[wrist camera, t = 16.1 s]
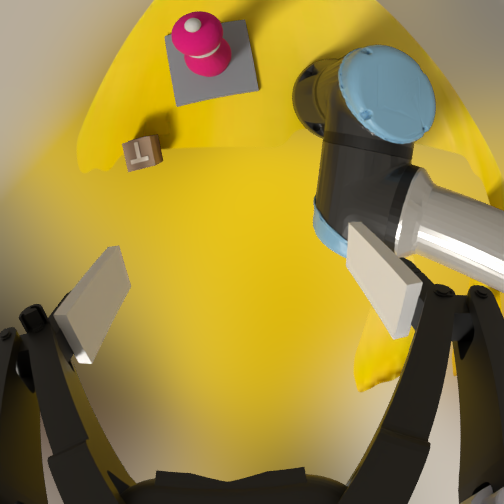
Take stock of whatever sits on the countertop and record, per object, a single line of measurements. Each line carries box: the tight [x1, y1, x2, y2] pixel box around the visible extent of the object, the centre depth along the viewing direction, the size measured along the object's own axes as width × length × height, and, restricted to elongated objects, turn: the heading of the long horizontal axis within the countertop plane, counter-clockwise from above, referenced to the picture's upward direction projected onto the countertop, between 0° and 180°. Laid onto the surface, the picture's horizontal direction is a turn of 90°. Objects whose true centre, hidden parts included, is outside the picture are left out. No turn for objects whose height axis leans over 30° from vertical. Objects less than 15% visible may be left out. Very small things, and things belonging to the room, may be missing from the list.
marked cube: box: [122, 135, 163, 172], centre depth 44 cm, size 5×5×5 cm
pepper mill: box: [171, 11, 232, 77], centre depth 30 cm, size 7×7×20 cm
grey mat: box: [165, 20, 259, 107], centre depth 40 cm, size 14×14×1 cm
